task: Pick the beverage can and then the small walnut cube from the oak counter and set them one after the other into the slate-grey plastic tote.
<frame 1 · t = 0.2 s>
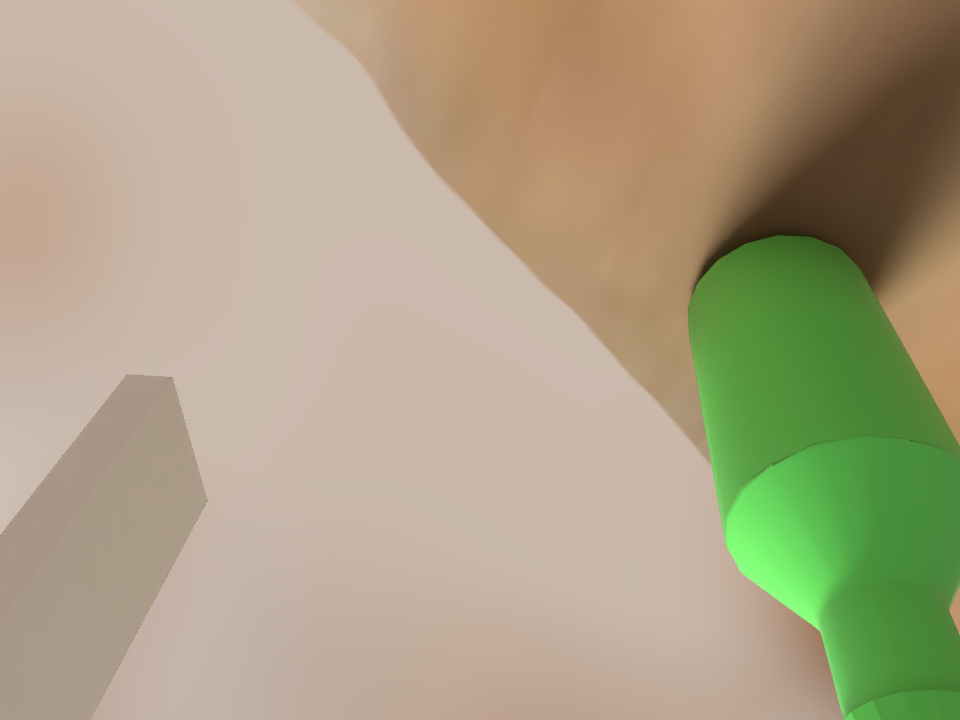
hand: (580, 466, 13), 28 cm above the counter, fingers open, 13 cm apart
bottle: (771, 302, 42), on the counter
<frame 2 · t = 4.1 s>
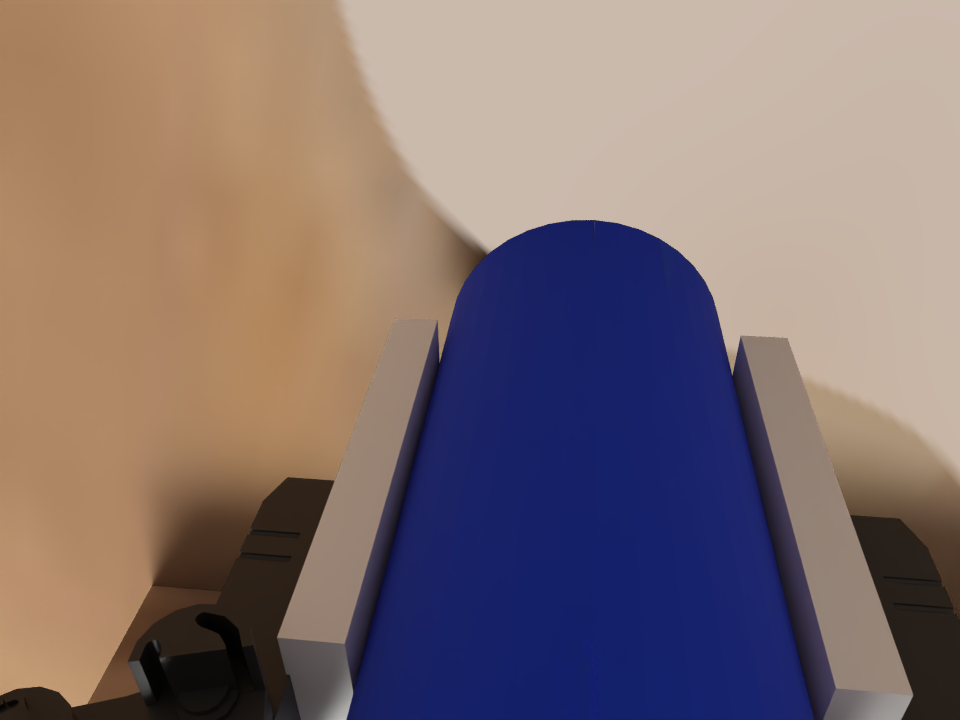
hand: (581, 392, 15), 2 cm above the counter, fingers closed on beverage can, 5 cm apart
beverage can: (582, 318, 17), on the counter, touching gripper
walnut cube: (253, 645, 24), on the counter
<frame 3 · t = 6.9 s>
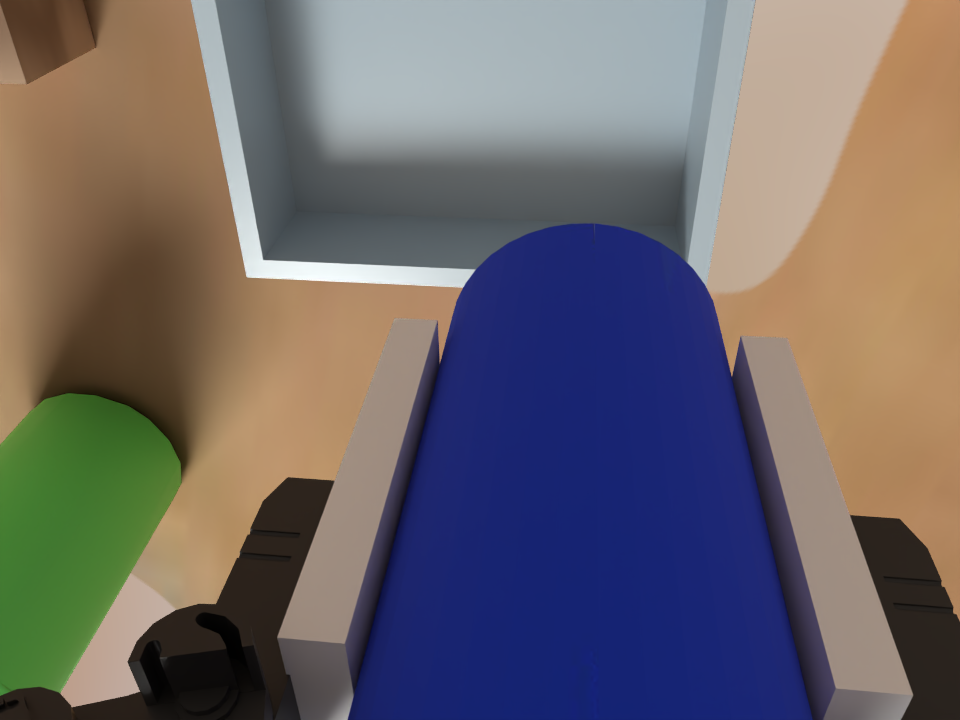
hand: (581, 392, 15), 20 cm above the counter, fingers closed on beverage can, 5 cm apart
beverage can: (582, 321, 17), point 18 cm above the counter, touching gripper
bottle: (113, 443, 46), on the counter
tote: (481, 68, 31), on the counter
when the fingers open (5 cm above the counter, at t = 9.8 s): beverage can drops 2 cm, resting on tote.
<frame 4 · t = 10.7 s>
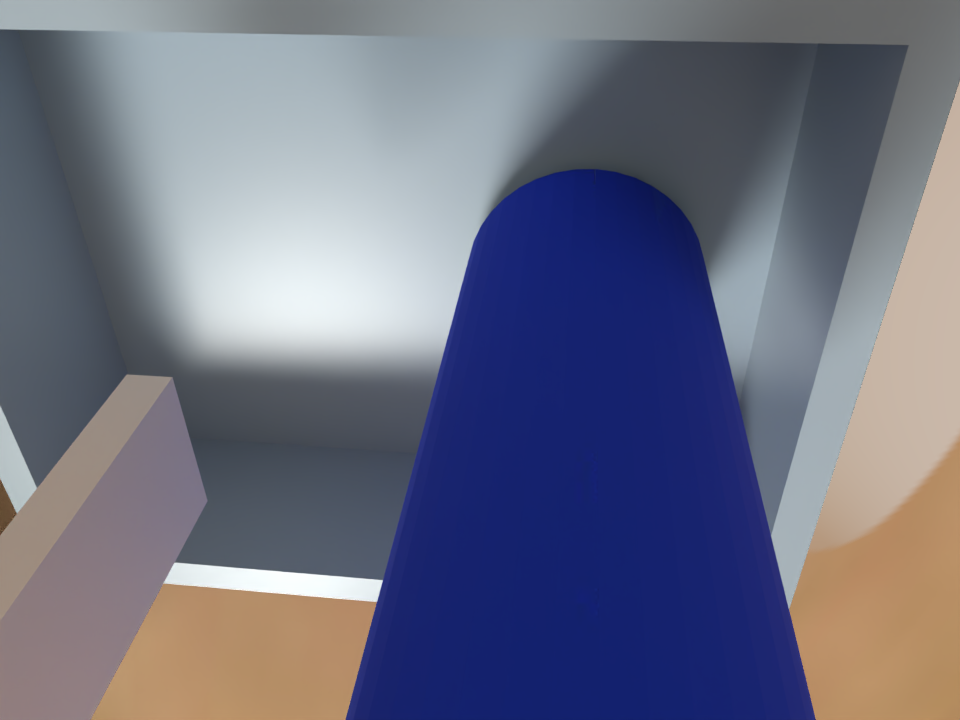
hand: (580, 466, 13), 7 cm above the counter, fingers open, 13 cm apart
beverage can: (584, 262, 19), resting on tote
tote: (417, 247, 19), on the counter
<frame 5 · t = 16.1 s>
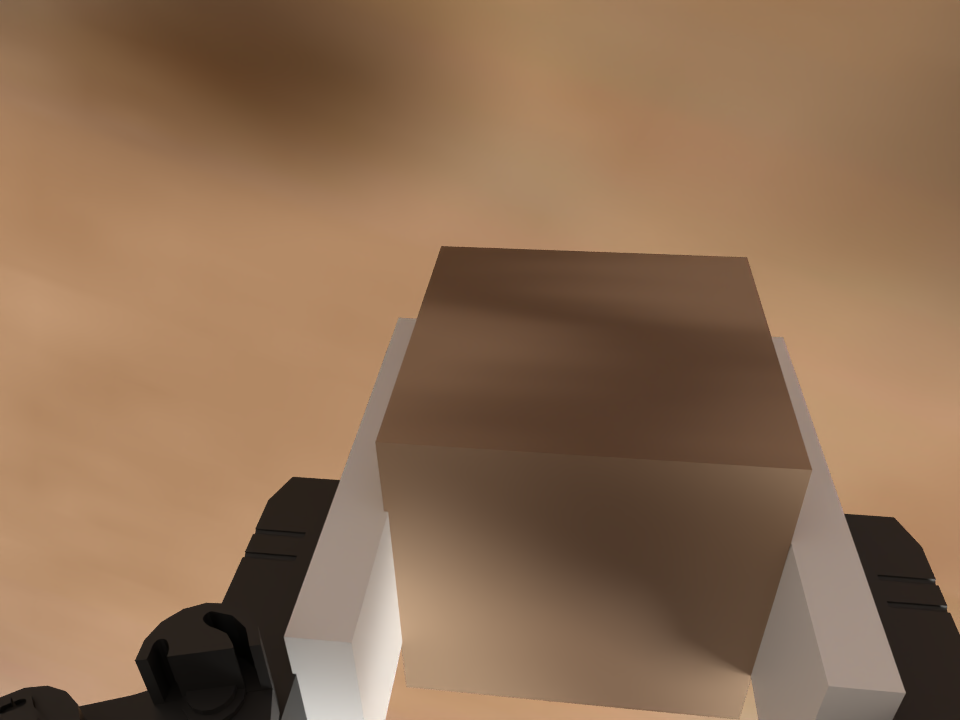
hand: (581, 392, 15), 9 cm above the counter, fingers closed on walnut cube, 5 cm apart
walnut cube: (583, 373, 15), point 9 cm above the counter, touching gripper
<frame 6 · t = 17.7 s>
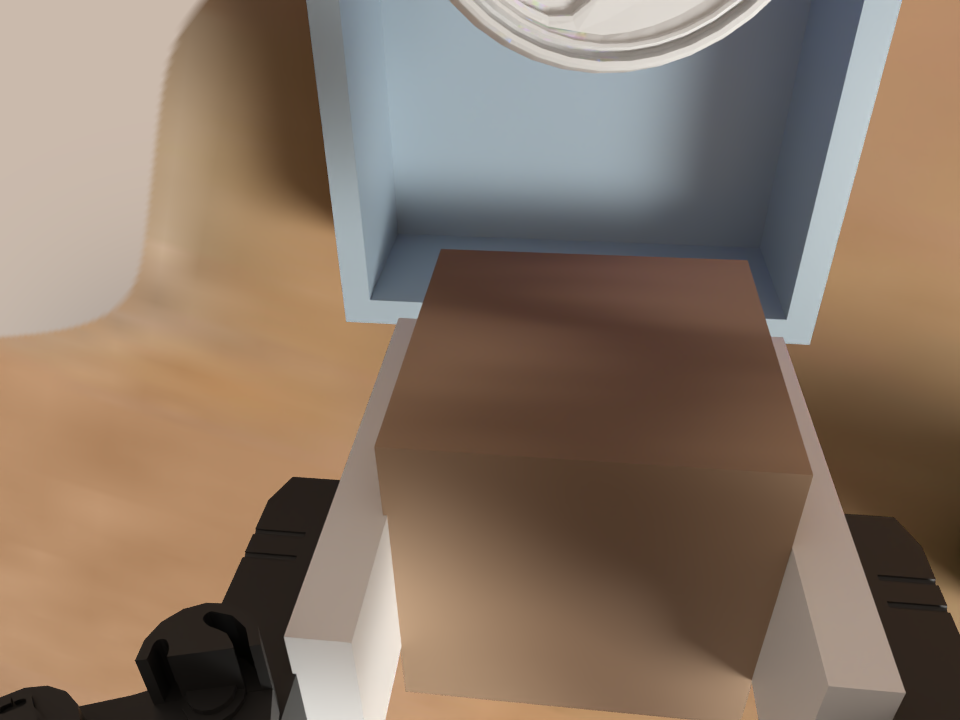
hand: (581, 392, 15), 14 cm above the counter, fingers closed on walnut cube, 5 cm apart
walnut cube: (583, 376, 15), point 13 cm above the counter, touching gripper
when the fingers open (5 cm above the counter, at t = 19.4 s): walnut cube drops 4 cm, resting on tote.
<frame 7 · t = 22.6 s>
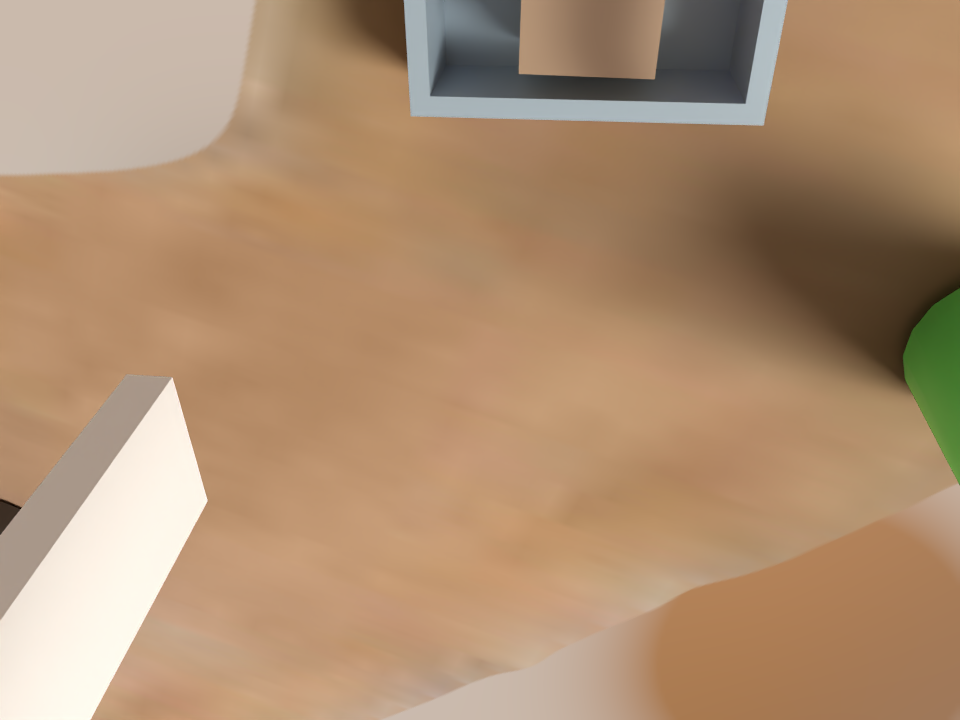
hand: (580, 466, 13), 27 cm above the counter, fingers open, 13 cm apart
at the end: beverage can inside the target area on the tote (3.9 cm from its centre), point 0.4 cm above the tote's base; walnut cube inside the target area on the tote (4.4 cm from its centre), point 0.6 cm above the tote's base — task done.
